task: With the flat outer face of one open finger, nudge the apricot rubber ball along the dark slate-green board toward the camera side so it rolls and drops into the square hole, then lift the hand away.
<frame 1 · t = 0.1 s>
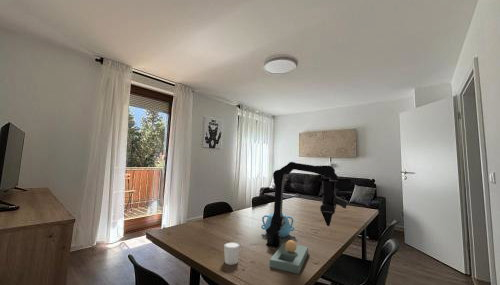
hand: (329, 223, 103), 15 cm above the table, fingers open, 9 cm apart
white cylinder: (231, 262, 92), on the table
deck: (290, 259, 96), on the table
ball: (290, 246, 97), point 5 cm above the table, touching deck
decorative pot: (277, 235, 130), on the table
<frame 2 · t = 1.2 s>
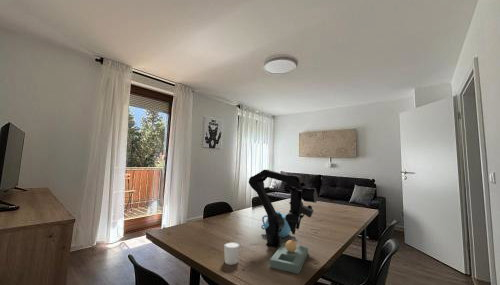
hand: (295, 231, 107), 9 cm above the table, fingers open, 9 cm apart
nothing on the table moved.
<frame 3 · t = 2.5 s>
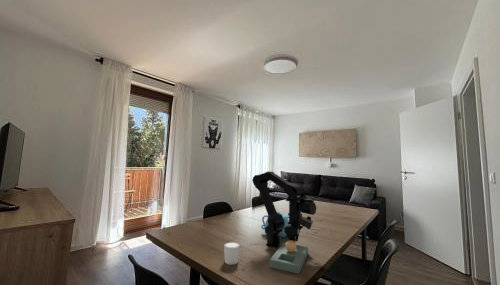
hand: (294, 243, 104), 4 cm above the table, fingers open, 8 cm apart
ball: (290, 246, 97), point 5 cm above the table, touching deck, gripper
everything else where it was.
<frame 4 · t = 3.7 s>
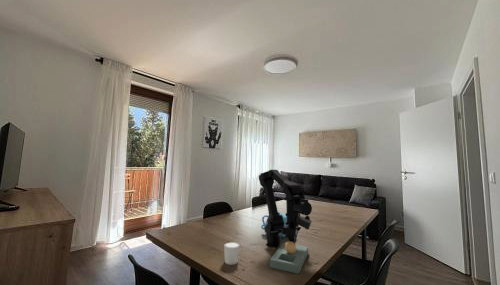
hand: (293, 244, 100), 5 cm above the table, fingers open, 4 cm apart
ball: (290, 247, 96), point 5 cm above the table, tilted 32°, touching deck, gripper
everything else where it was.
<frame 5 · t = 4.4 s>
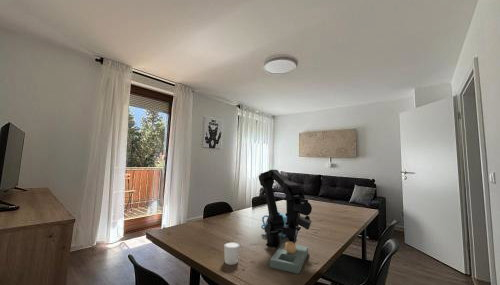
hand: (293, 244, 100), 5 cm above the table, fingers open, 4 cm apart
nothing on the table moved.
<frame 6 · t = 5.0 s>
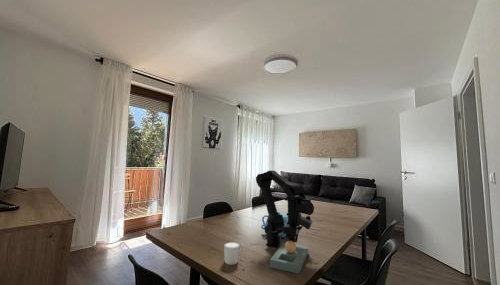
hand: (294, 244, 102), 5 cm above the table, fingers open, 6 cm apart
ball: (290, 246, 96), point 5 cm above the table, tilted 18°, touching deck, gripper
everything else where it was.
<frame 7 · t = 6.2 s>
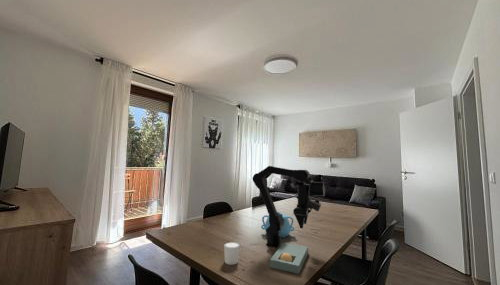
hand: (303, 226, 107), 12 cm above the table, fingers open, 9 cm apart
ball: (286, 259, 90), point 2 cm above the table, tilted 140°
everything else where it was.
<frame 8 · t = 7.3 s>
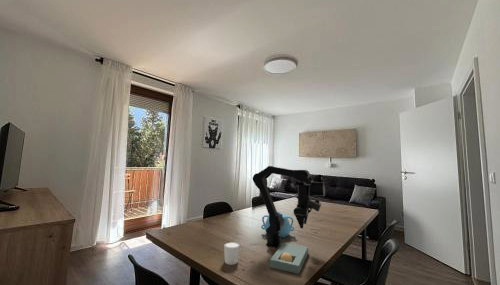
hand: (303, 226, 107), 12 cm above the table, fingers open, 9 cm apart
nothing on the table moved.
at the end: ball 0.5 cm from the target spot on the deck, point 2.5 cm above the deck's base; the gripper is holding nothing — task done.
